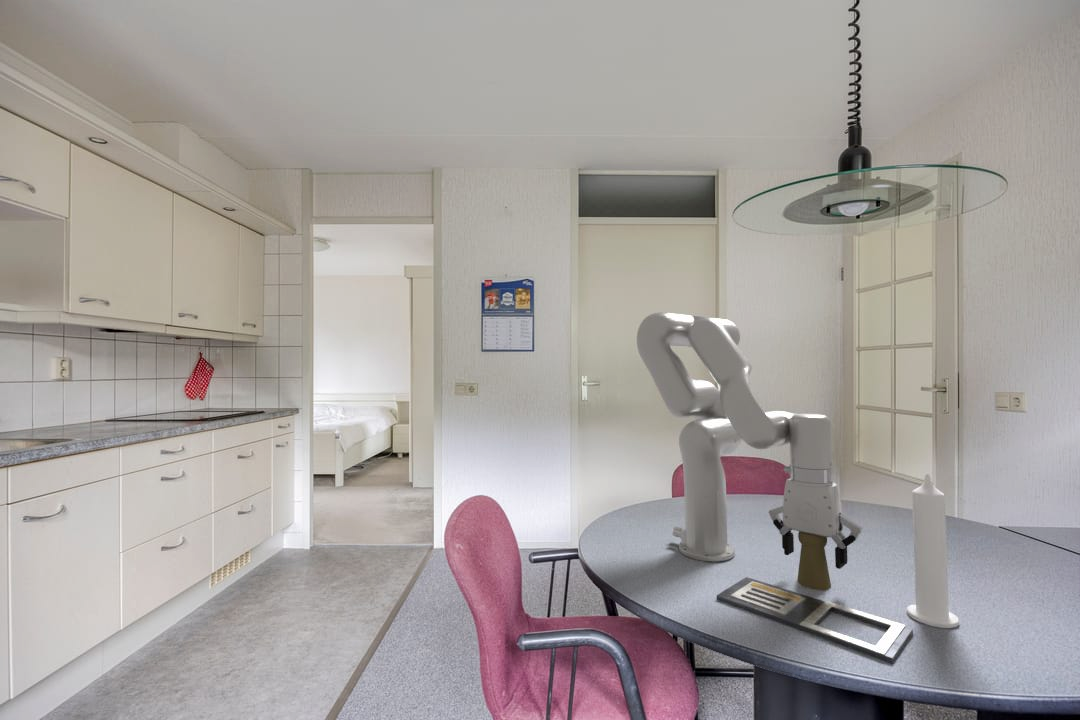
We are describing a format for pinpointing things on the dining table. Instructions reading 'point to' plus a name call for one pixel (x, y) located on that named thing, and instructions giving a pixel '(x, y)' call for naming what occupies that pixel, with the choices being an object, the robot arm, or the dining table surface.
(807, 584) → the cork
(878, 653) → the panel
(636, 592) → the dining table surface
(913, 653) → the dining table surface
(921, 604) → the candle
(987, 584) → the dining table surface
